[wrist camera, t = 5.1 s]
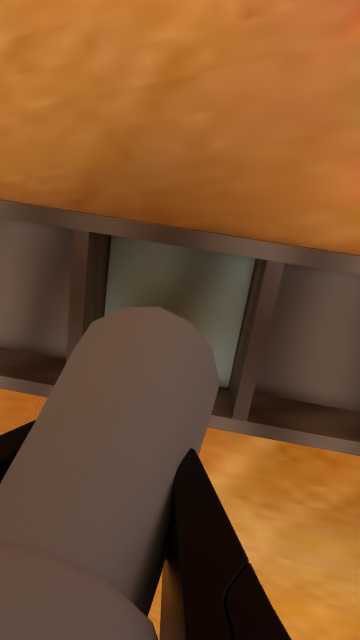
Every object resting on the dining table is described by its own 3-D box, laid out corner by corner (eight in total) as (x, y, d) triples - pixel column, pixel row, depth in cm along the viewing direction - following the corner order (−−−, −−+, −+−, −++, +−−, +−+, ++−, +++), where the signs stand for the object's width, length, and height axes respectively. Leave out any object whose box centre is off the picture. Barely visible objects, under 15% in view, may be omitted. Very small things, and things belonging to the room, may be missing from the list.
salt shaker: (75, 379, 16) (-482, 993, 3) (119, 271, 14) (-688, 642, 1) (185, 430, 16) (82, 1205, 3) (241, 330, 14) (469, 1118, 2)
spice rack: (433, 267, 19) (500, 278, 14) (377, 419, 21) (419, 466, 17) (-43, 192, 20) (-112, 183, 16) (-36, 344, 23) (-93, 370, 19)
